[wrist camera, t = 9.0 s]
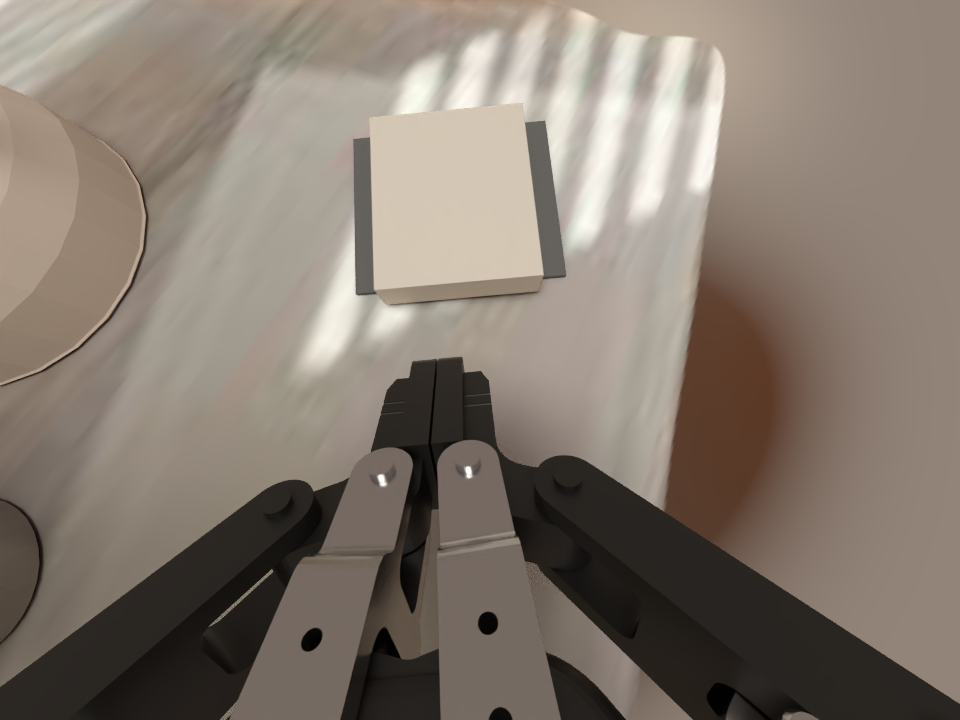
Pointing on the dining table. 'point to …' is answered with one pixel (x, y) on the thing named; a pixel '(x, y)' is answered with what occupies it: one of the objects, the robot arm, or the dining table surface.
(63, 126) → the kettle
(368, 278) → the mat
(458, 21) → the dining table surface
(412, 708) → the robot arm
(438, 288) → the tile
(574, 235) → the dining table surface
